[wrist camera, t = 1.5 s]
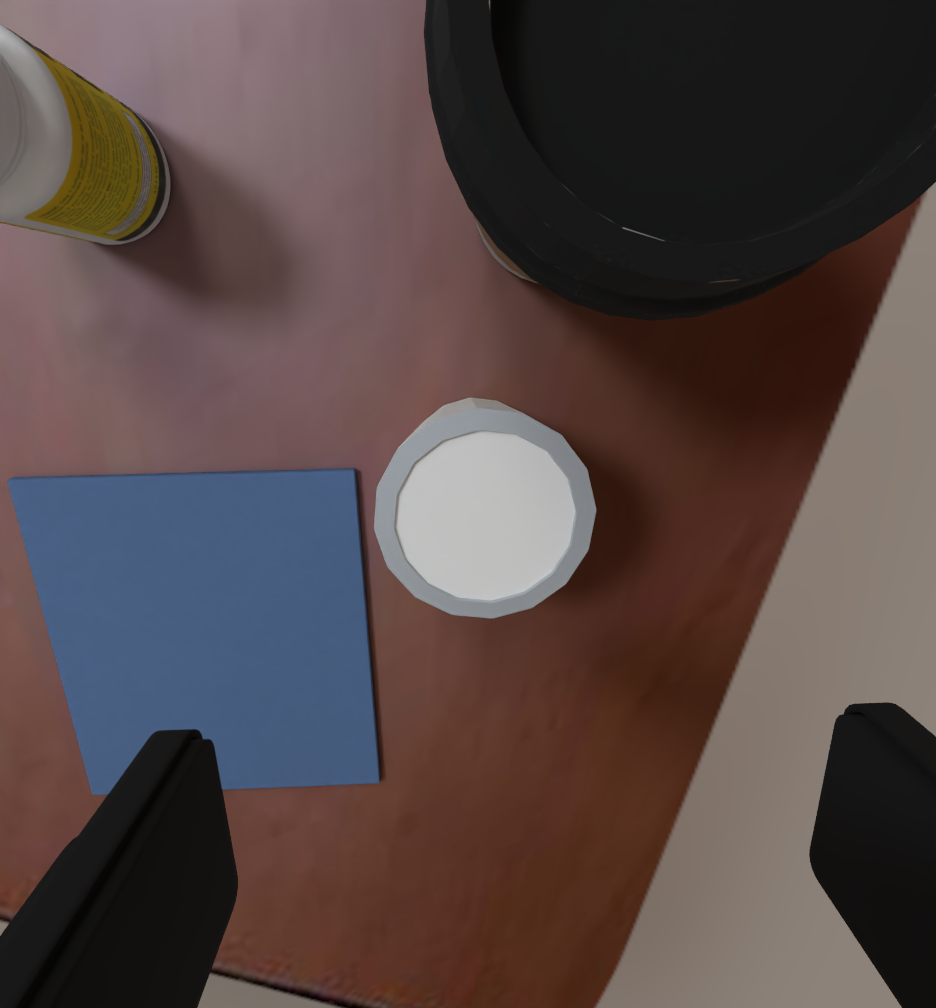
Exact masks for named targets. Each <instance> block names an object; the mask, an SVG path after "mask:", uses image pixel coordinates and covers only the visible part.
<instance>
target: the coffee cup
mask: <svg viewBox="0 0 936 1008" xmlns="http://www.w3.org/2000/svg"><path fill="white" fill-rule="evenodd" d="M424 39H425V50H426V62H427V73H428V85H429V94H430V98H431V104H432V110H433V113H434V117H435V121H436V124H437V128H438V132H439V135H440V139H441V143H442V147H443V150H444V154H445V158H446V161H447V163H448V165H449V167H450V169H451V171H452V173H453V176H454V178H455V180H456V182H457V184H458V186H459V188H460V190H461V193H462V195H463V197H464V199H465V201H466V203H467V205H468V207H469V209H470V210H471V211H472V213H473V215H474V217H475V221H476V224H477V228H478V231H479V233H480V235H481V237H482V240H483V242H484V244H485V246H486V247H487V248H488V250H489V251H490V253H491V254H492V255H493V257H494V258H495V259H496V260H497V261H498V262H499V263H500V264H501V265H502V266H503V267H504V268H505V269H507V270H508V271H510V272H512V273H513V274H515V275H517V276H518V277H520V278H523V279H526V280H529V281H532V282H535V283H539V284H541V285H542V286H544V287H546V288H547V289H549V290H551V291H552V292H554V293H556V294H557V295H559V296H561V297H562V298H564V299H566V300H568V301H570V302H572V303H575V304H578V305H581V306H584V307H587V308H590V309H593V310H596V311H599V312H602V313H605V314H608V315H613V316H621V317H629V318H638V319H646V320H661V319H673V318H684V317H695V316H699V315H702V314H706V313H709V312H712V311H716V310H719V309H722V308H725V307H729V306H732V305H735V304H739V303H741V302H743V301H745V300H749V299H752V298H755V297H757V296H759V295H761V294H763V293H765V292H767V291H769V290H771V289H772V288H774V287H776V286H778V285H780V284H782V283H784V282H786V281H788V280H790V279H792V278H794V277H796V276H798V275H800V274H801V273H803V272H804V271H805V270H807V269H808V268H809V267H811V266H812V265H813V264H815V263H816V262H817V261H819V260H820V259H822V258H823V257H824V256H826V255H827V254H828V253H830V252H832V251H834V250H836V249H838V248H841V247H843V246H845V245H847V244H849V243H851V242H853V241H855V240H857V239H859V238H861V237H863V236H864V235H866V234H867V233H869V232H870V231H872V230H873V229H875V228H876V227H878V226H879V225H881V224H882V223H884V222H885V221H887V220H888V219H890V218H891V217H893V216H894V215H896V214H897V213H899V212H900V211H902V210H903V209H905V208H906V207H908V206H909V205H911V204H912V203H913V202H914V201H915V200H916V199H917V198H919V197H920V196H921V195H922V194H923V193H924V192H925V191H926V190H927V189H928V188H930V187H931V186H932V185H933V184H934V183H935V182H936V0H426V12H425V25H424Z"/></svg>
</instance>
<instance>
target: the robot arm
mask: <svg viewBox="0 0 936 1008" xmlns="http://www.w3.org/2000/svg"><path fill="white" fill-rule="evenodd" d="M810 863H811V866H812V869H813V872H814V874H815V876H816V878H817V880H818V882H819V883H820V885H821V886H822V888H823V889H824V891H825V892H826V894H827V895H828V897H829V898H830V900H831V901H832V903H833V904H834V906H835V907H836V909H837V910H838V912H839V913H840V915H841V916H842V918H843V919H844V921H845V922H846V924H847V925H848V927H849V928H850V930H851V931H852V933H853V934H854V936H855V938H856V939H857V941H858V942H859V943H860V945H861V946H862V948H863V950H864V951H865V953H866V954H867V955H868V957H869V959H870V960H871V962H872V963H873V965H874V966H875V968H876V969H877V971H878V972H879V974H880V975H881V977H882V978H883V980H884V981H885V983H886V984H887V986H888V987H889V989H890V990H891V992H892V993H893V995H894V996H895V998H896V999H897V1001H898V1002H899V1004H900V1005H901V1007H902V1008H936V737H935V736H934V735H933V734H932V733H931V732H929V731H928V730H927V729H926V728H925V727H924V726H922V725H921V724H920V723H919V722H918V721H916V720H915V719H914V718H913V717H911V715H909V714H908V713H907V712H906V711H905V710H904V709H902V708H901V707H899V706H898V705H896V704H893V703H864V704H852V705H849V706H848V707H847V708H846V709H845V712H844V714H843V715H839V717H838V718H837V719H836V722H835V725H834V730H833V735H832V740H831V745H830V750H829V755H828V760H827V765H826V770H825V776H824V780H823V786H822V790H821V795H820V800H819V806H818V811H817V816H816V821H815V826H814V831H813V836H812V841H811V846H810ZM237 889H238V876H237V870H236V864H235V859H234V853H233V848H232V842H231V836H230V831H229V825H228V820H227V814H226V808H225V803H224V797H223V792H222V786H221V780H220V775H219V769H218V764H217V758H216V752H215V747H214V744H213V742H212V740H210V739H203V737H202V734H201V733H200V731H199V730H196V729H185V730H159V731H156V732H154V733H153V734H152V735H151V736H150V737H149V738H148V740H147V741H146V743H145V744H144V745H143V747H142V748H141V750H140V751H139V752H138V754H137V755H136V757H135V758H134V759H133V761H132V762H131V764H130V765H129V766H128V768H127V769H126V770H125V772H124V773H123V775H122V776H121V777H120V779H119V780H118V782H117V783H116V784H115V786H114V787H113V789H112V790H111V791H110V793H109V794H108V795H107V797H106V798H105V800H104V801H103V802H102V804H101V805H100V807H99V808H98V809H97V811H96V812H95V814H94V815H93V816H92V818H91V819H90V821H89V822H88V823H87V825H86V826H85V827H84V829H83V830H82V832H81V833H80V834H79V836H78V837H76V838H74V839H73V840H72V841H71V842H70V843H69V844H68V845H67V846H66V847H65V849H64V850H63V851H62V852H61V853H60V855H59V856H58V858H57V859H56V860H55V862H54V863H53V864H52V866H51V867H50V869H49V870H48V871H47V873H46V874H45V875H44V877H43V878H42V880H41V881H40V882H39V884H38V885H37V886H36V888H35V889H34V891H33V892H32V893H31V895H30V896H29V897H28V899H27V900H26V901H25V903H24V904H23V906H22V907H21V908H20V910H19V911H18V912H17V914H16V915H15V917H14V918H13V919H12V921H11V922H10V923H9V925H8V926H7V928H6V929H5V930H4V932H3V933H2V935H1V936H0V1008H197V1007H198V1004H199V1001H200V998H201V996H202V993H203V990H204V987H205V985H206V982H207V979H208V977H209V974H210V971H211V968H212V966H213V963H214V960H215V957H216V955H217V952H218V949H219V946H220V944H221V941H222V938H223V935H224V933H225V930H226V927H227V925H228V922H229V919H230V916H231V914H232V911H233V908H234V905H235V901H236V896H237Z"/></svg>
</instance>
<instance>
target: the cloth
mask: <svg viewBox="0 0 936 1008" xmlns="http://www.w3.org/2000/svg"><path fill="white" fill-rule="evenodd" d="M7 482H8V485H9V489H10V493H11V496H12V500H13V504H14V507H15V511H16V515H17V518H18V522H19V526H20V529H21V533H22V537H23V540H24V544H25V548H26V552H27V555H28V559H29V563H30V566H31V570H32V574H33V577H34V581H35V585H36V588H37V592H38V596H39V599H40V603H41V607H42V610H43V614H44V618H45V622H46V625H47V629H48V633H49V636H50V640H51V644H52V647H53V651H54V655H55V658H56V662H57V666H58V669H59V673H60V677H61V680H62V684H63V688H64V691H65V695H66V699H67V703H68V706H69V710H70V714H71V717H72V721H73V725H74V728H75V732H76V736H77V739H78V743H79V747H80V750H81V754H82V758H83V761H84V765H85V769H86V773H87V776H88V780H89V784H90V787H91V791H92V794H93V795H105V794H109V793H110V791H111V790H112V789H113V787H114V786H115V784H116V783H117V782H118V780H119V779H120V777H121V776H122V775H123V773H124V772H125V770H126V769H127V768H128V766H129V765H130V764H131V762H132V761H133V759H134V758H135V757H136V755H137V754H138V752H139V751H140V750H141V748H142V747H143V745H144V744H145V743H146V741H147V740H148V738H149V737H150V736H151V735H152V734H153V733H154V732H156V731H159V730H185V729H196V730H199V731H200V733H201V734H202V737H203V739H210V740H212V742H213V744H214V747H215V752H216V758H217V764H218V769H219V775H220V780H221V786H222V790H226V789H251V788H275V787H299V786H324V785H348V784H373V783H379V782H380V767H379V755H378V743H377V730H376V718H375V706H374V693H373V681H372V668H371V656H370V644H369V631H368V619H367V606H366V594H365V582H364V569H363V557H362V544H361V532H360V520H359V507H358V495H357V482H356V470H355V468H349V469H312V470H275V471H237V472H200V473H162V474H125V475H88V476H50V477H14V478H11V479H8V480H7Z"/></svg>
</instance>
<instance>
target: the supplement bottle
mask: <svg viewBox="0 0 936 1008" xmlns="http://www.w3.org/2000/svg"><path fill="white" fill-rule="evenodd" d="M169 197H170V173H169V168H168V163H167V160H166V157H165V154H164V151H163V149H162V147H161V145H160V143H159V141H158V139H157V137H156V136H155V134H154V133H153V131H152V130H151V129H150V127H149V126H148V125H147V124H146V123H145V122H144V120H143V119H142V118H141V117H140V116H139V115H137V114H136V113H135V112H134V111H133V110H131V109H130V108H129V107H127V106H126V105H124V104H123V103H121V102H120V101H118V100H117V99H115V98H114V97H112V96H111V95H109V94H108V93H106V92H104V91H103V90H101V89H100V88H98V87H97V86H95V85H94V84H92V83H91V82H89V81H88V80H86V79H85V78H83V77H82V76H80V75H79V74H77V73H75V72H74V71H72V70H71V69H69V68H68V67H66V66H65V65H63V64H62V63H60V62H59V61H57V60H55V59H54V58H52V57H51V56H49V55H48V54H46V53H45V52H44V51H42V50H41V49H39V48H37V47H35V46H34V45H32V44H31V43H29V42H28V41H26V40H25V39H23V38H22V37H20V36H19V35H17V34H16V33H14V32H13V31H11V30H9V29H8V28H6V27H4V26H2V25H0V223H4V224H8V225H13V226H18V227H23V228H28V229H32V230H37V231H42V232H47V233H51V234H56V235H61V236H65V237H70V238H75V239H80V240H85V241H89V242H94V243H99V244H107V245H119V244H125V243H129V242H132V241H135V240H137V239H139V238H141V237H143V236H145V235H146V234H148V233H149V232H151V231H152V230H153V229H154V228H155V227H156V226H157V224H158V223H159V222H160V220H161V219H162V217H163V215H164V213H165V211H166V208H167V205H168V202H169Z"/></svg>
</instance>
